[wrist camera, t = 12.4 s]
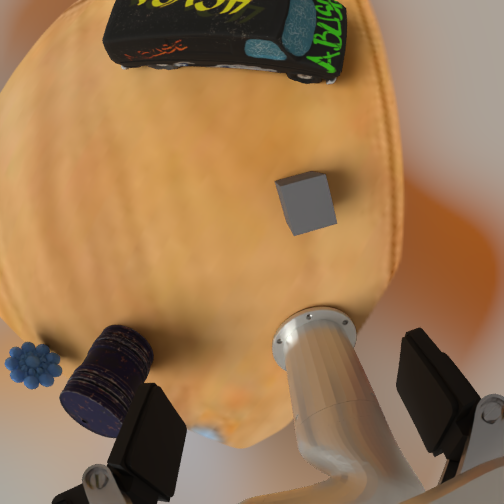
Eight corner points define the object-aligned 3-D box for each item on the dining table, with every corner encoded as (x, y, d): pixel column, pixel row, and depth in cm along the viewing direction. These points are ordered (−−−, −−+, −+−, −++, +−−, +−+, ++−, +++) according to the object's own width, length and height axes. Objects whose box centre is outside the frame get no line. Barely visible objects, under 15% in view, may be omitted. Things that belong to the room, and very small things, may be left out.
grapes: (28, 345, 40) (0, 378, 29) (26, 324, 38) (-6, 358, 27) (69, 373, 42) (44, 413, 30) (70, 354, 40) (40, 395, 28)
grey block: (322, 211, 31) (337, 223, 26) (286, 221, 32) (294, 236, 26) (311, 170, 30) (325, 174, 24) (274, 181, 30) (280, 186, 25)
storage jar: (117, 313, 36) (70, 380, 22) (166, 353, 39) (139, 429, 25) (91, 343, 38) (51, 403, 24) (135, 378, 41) (108, 443, 27)
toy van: (329, 90, 27) (361, 66, 17) (126, 75, 25) (85, 53, 16) (335, 22, 23) (362, -15, 14) (144, 9, 22) (115, -25, 12)
